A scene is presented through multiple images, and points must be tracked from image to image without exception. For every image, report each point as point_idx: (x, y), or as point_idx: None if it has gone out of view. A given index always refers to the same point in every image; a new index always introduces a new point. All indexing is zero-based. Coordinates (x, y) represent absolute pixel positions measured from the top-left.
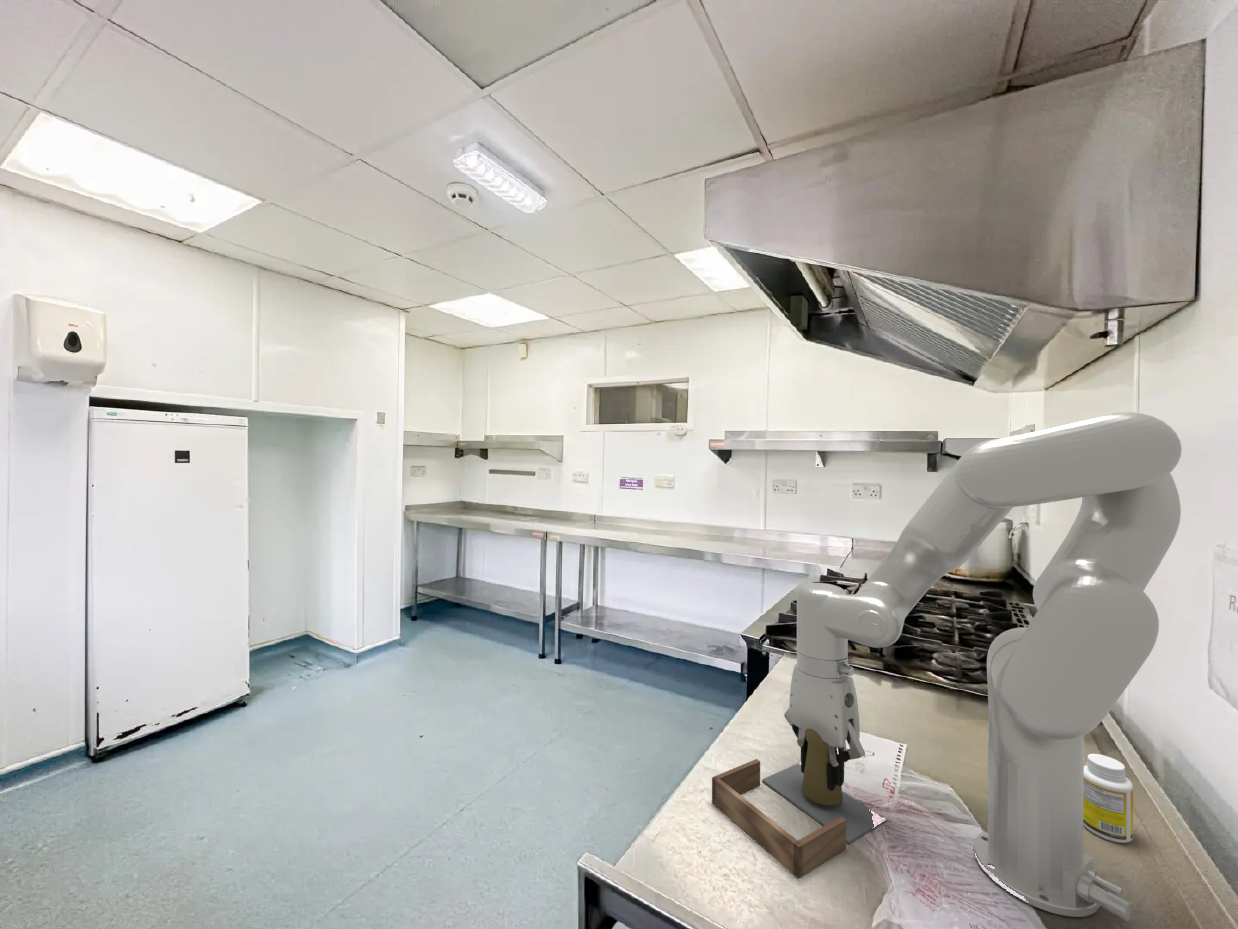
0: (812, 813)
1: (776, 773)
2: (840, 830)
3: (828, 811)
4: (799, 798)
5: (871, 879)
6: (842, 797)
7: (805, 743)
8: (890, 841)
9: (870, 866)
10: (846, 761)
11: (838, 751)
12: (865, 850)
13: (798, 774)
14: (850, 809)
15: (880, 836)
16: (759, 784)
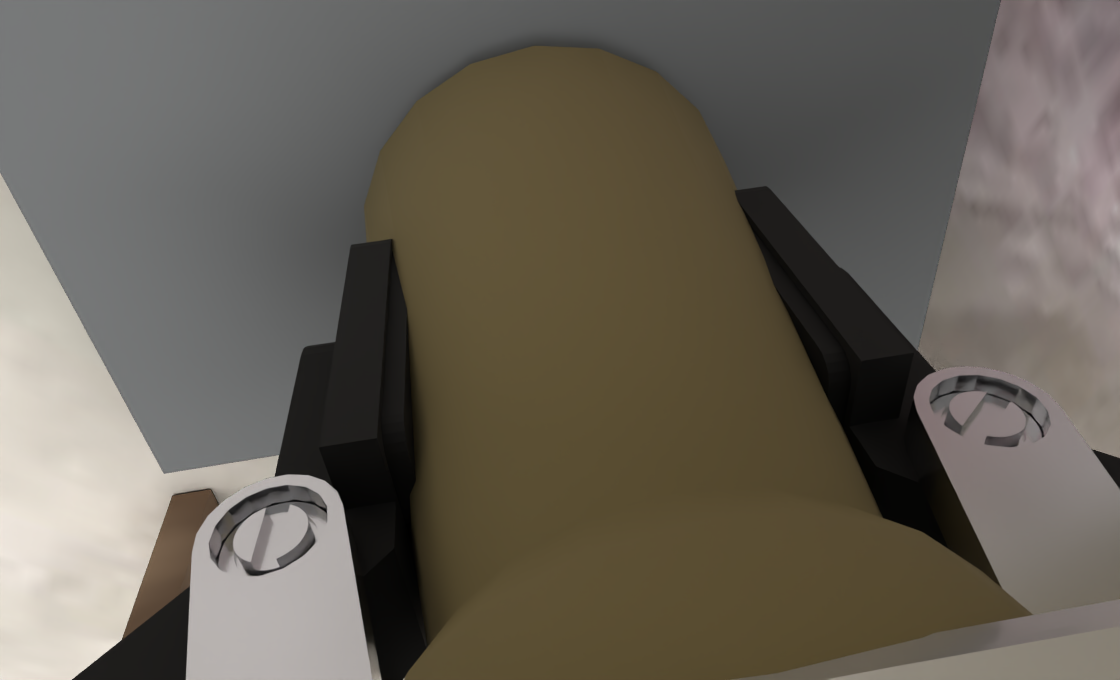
0: None
1: (95, 339)
2: None
3: None
4: None
5: (1083, 398)
6: (710, 133)
7: (401, 671)
8: (1102, 61)
9: (1056, 345)
10: (1003, 388)
11: (942, 523)
12: (996, 285)
13: (147, 157)
14: (762, 88)
15: (1030, 87)
16: (212, 503)
